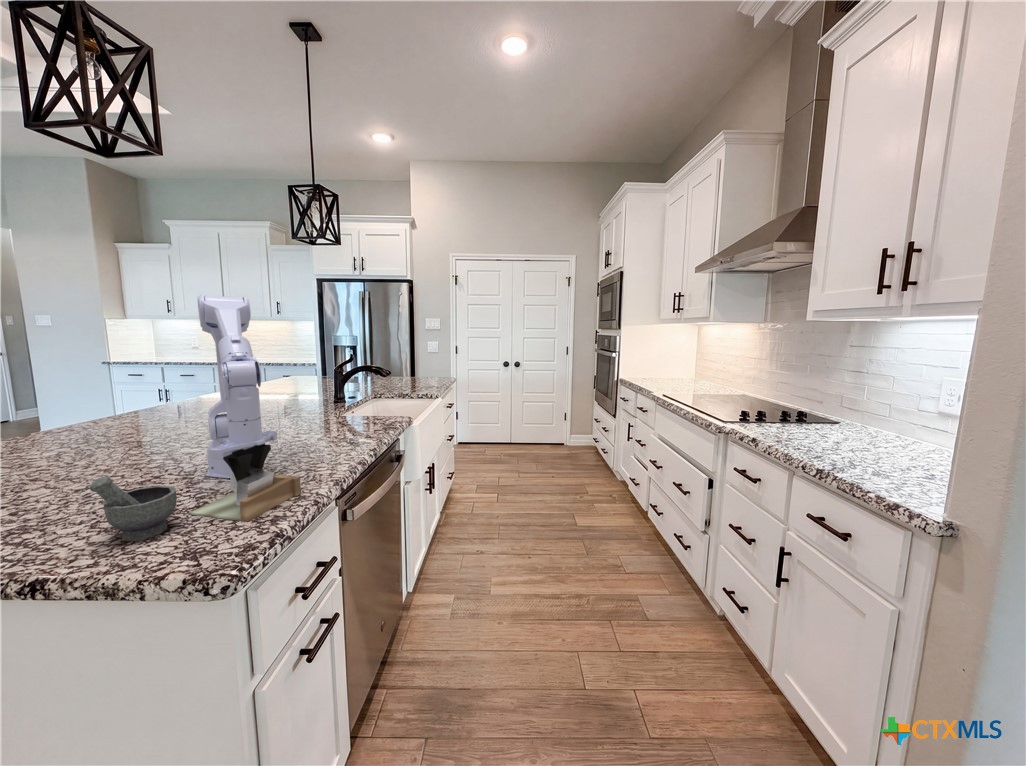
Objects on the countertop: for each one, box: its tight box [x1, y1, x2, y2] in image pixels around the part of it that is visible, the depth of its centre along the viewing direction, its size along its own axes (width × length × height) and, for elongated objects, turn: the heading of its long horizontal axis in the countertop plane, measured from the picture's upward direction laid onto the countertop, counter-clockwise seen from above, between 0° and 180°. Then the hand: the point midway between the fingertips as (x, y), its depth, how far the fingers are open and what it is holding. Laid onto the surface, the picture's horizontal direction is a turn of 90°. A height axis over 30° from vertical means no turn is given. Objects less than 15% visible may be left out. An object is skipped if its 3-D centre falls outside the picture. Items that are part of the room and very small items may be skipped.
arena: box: [188, 473, 302, 523], centre depth 84 cm, size 15×14×4 cm
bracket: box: [229, 466, 275, 506], centre depth 82 cm, size 8×6×5 cm
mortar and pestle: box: [88, 476, 178, 542], centre depth 71 cm, size 11×9×12 cm
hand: (249, 482), depth 84 cm, fingers closed on bracket, 2 cm apart
